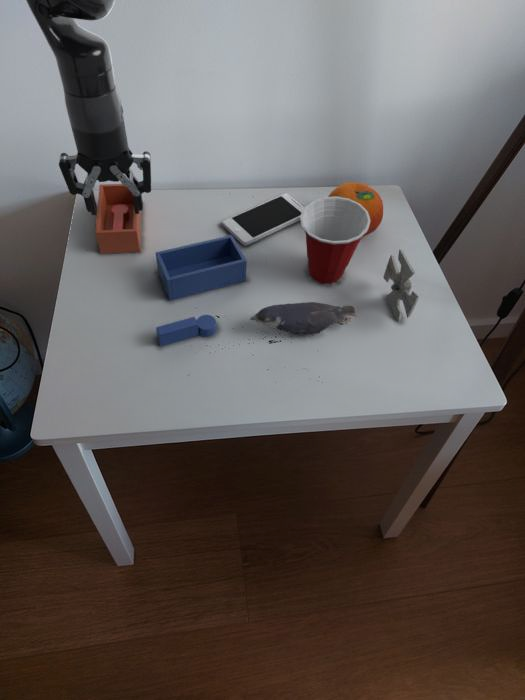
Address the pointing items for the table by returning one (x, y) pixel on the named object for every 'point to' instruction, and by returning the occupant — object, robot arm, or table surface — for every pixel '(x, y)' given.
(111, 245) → the orange bin
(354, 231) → the plastic cup
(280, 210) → the smartphone
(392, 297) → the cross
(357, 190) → the fruit
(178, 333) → the blue spoon
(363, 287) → the table surface
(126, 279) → the table surface
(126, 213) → the red spoon
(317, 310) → the bird model
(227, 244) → the blue bin
